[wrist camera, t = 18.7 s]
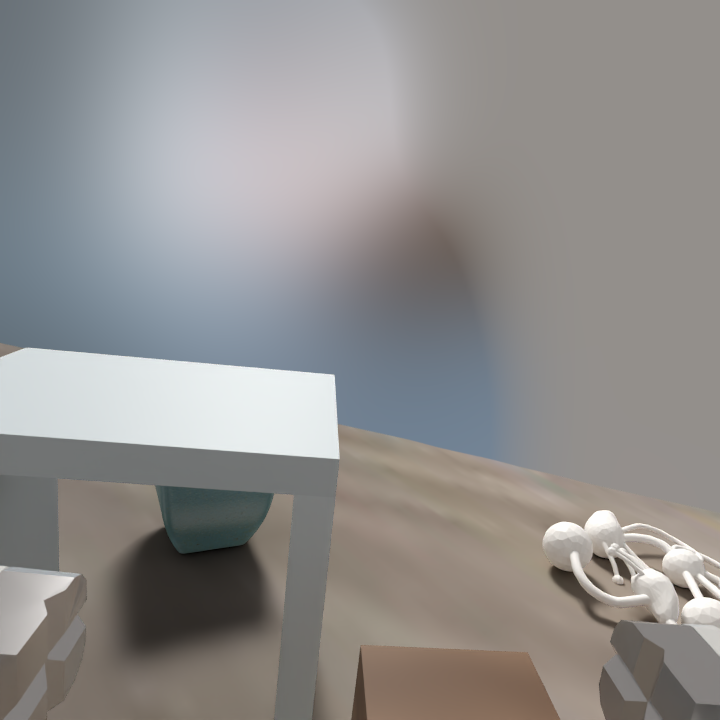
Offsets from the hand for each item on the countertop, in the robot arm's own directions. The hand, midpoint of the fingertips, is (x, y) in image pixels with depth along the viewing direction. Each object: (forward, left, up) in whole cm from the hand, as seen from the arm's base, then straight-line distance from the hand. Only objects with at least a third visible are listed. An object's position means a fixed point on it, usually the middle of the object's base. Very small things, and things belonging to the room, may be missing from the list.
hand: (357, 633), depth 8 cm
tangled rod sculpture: (+37, -12, -19) cm, 43 cm away
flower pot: (+25, +22, -19) cm, 38 cm away
